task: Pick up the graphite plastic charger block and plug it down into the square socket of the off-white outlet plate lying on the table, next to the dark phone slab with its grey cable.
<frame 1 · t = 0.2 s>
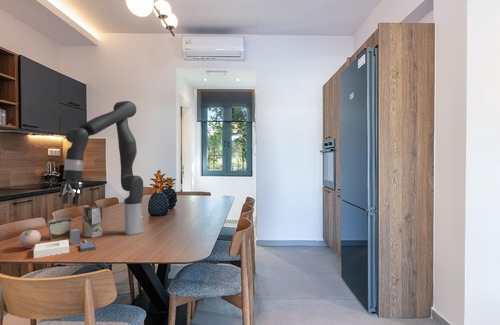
hand: (69, 204, 133), 22 cm above the table, tool pointing down, fingers open, 8 cm apart
coffee box: (92, 235, 159), on the table
food container: (58, 237, 156), on the table
charger: (75, 243, 144), on the table
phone: (87, 247, 137), on the table
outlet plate: (52, 251, 132), on the table
decorative fruit: (30, 248, 137), on the table
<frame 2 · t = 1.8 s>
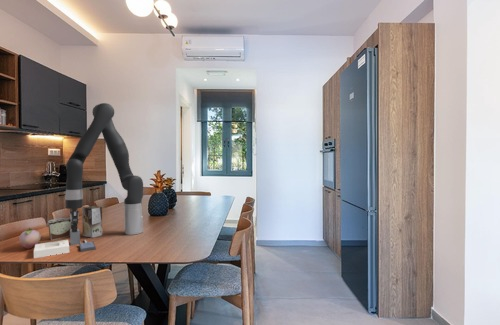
hand: (74, 230, 143), 7 cm above the table, tool pointing down, fingers open, 8 cm apart
nothing on the table moved.
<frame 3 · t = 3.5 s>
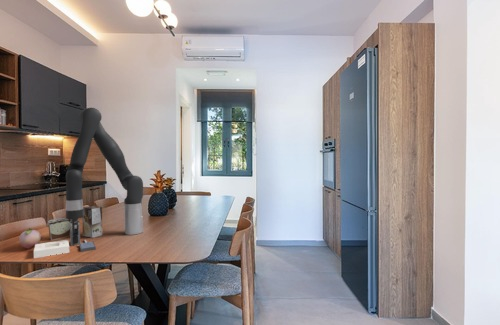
hand: (75, 242, 144), 1 cm above the table, tool pointing down, fingers closed on charger, 4 cm apart
charger: (75, 243, 144), on the table, touching gripper
everything else where it was.
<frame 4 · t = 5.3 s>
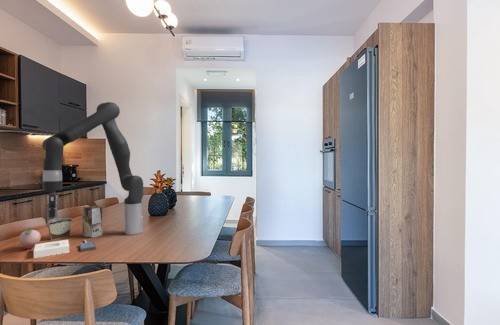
hand: (52, 216, 132), 16 cm above the table, tool pointing down, fingers closed on charger, 4 cm apart
charger: (52, 218, 132), point 15 cm above the table, touching gripper
everything else where it was.
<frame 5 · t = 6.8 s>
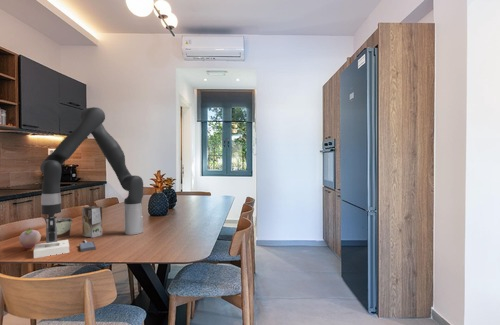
hand: (51, 239, 132), 6 cm above the table, tool pointing down, fingers closed on charger, 4 cm apart
charger: (51, 241, 132), point 5 cm above the table, touching gripper
everything else where it was.
when the fingers open (3 cm above the table, at t = 7.5 s): charger drops 2 cm, resting in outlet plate.
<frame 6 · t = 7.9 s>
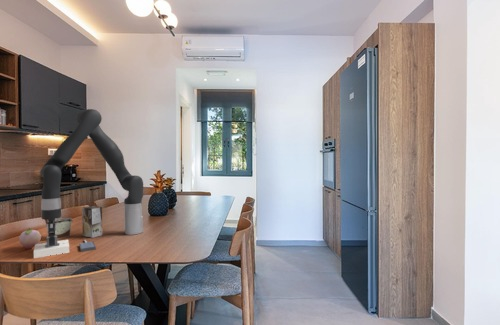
hand: (52, 243, 132), 4 cm above the table, tool pointing down, fingers open, 7 cm apart
charger: (52, 251, 132), resting in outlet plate
everything else where it was.
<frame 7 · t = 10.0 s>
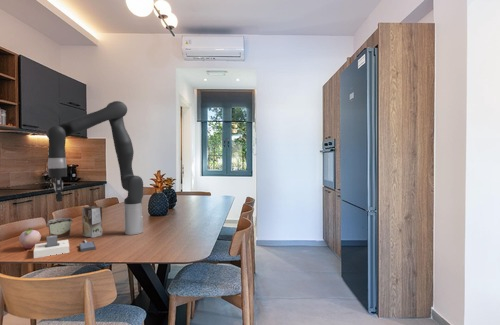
hand: (59, 200, 139), 23 cm above the table, tool pointing down, fingers open, 8 cm apart
nothing on the table moved.
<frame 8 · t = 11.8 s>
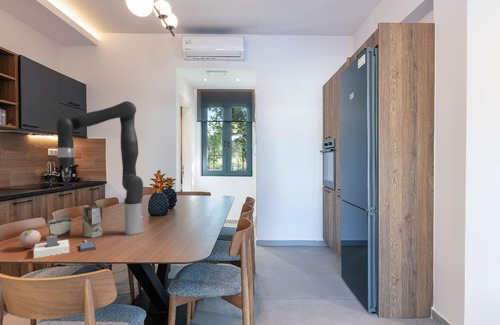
hand: (66, 187, 149), 28 cm above the table, tool pointing down, fingers open, 8 cm apart
nothing on the table moved.
at the end: charger 0.0 cm off-centre on the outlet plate, point 0.0 cm above the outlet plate's base; charger tilted 0°; the gripper is holding nothing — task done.
